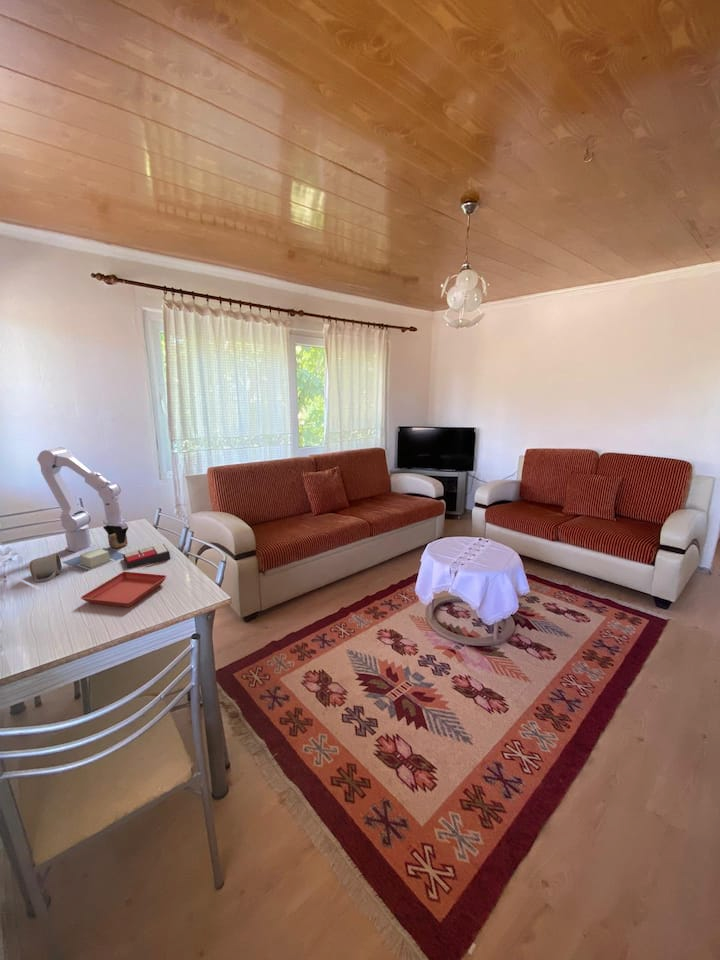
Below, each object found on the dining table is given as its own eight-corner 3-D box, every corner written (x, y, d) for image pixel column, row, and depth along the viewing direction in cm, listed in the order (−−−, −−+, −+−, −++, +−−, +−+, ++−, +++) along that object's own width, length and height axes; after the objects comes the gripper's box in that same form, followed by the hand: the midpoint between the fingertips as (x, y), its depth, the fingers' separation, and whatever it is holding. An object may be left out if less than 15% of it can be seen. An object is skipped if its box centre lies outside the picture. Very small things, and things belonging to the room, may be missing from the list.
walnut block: (109, 546, 167) (107, 535, 166) (121, 542, 171) (119, 531, 170) (116, 548, 165) (114, 537, 163) (127, 544, 169) (126, 533, 168)
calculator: (122, 552, 154) (163, 541, 163) (124, 562, 155) (164, 551, 164) (126, 561, 146) (168, 549, 154) (128, 572, 147) (170, 559, 156)
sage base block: (81, 564, 150) (79, 554, 150) (100, 557, 156) (98, 548, 156) (91, 568, 147) (89, 558, 146) (110, 561, 153) (108, 551, 152)
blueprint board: (62, 563, 153) (62, 562, 153) (104, 549, 167) (104, 547, 166) (86, 573, 144) (86, 571, 144) (129, 556, 158) (128, 555, 158)
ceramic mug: (35, 574, 144) (31, 555, 142) (62, 569, 148) (58, 550, 146) (30, 586, 135) (25, 566, 133) (59, 580, 139) (55, 561, 137)
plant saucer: (129, 612, 119) (128, 602, 118) (80, 606, 122) (78, 597, 122) (169, 583, 136) (167, 575, 135) (125, 579, 140) (123, 571, 139)
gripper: (132, 511, 164) (137, 541, 167) (113, 507, 171) (117, 535, 174) (115, 516, 158) (120, 547, 161) (96, 511, 165) (101, 541, 168)
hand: (118, 541), depth 167 cm, fingers closed on walnut block, 5 cm apart
